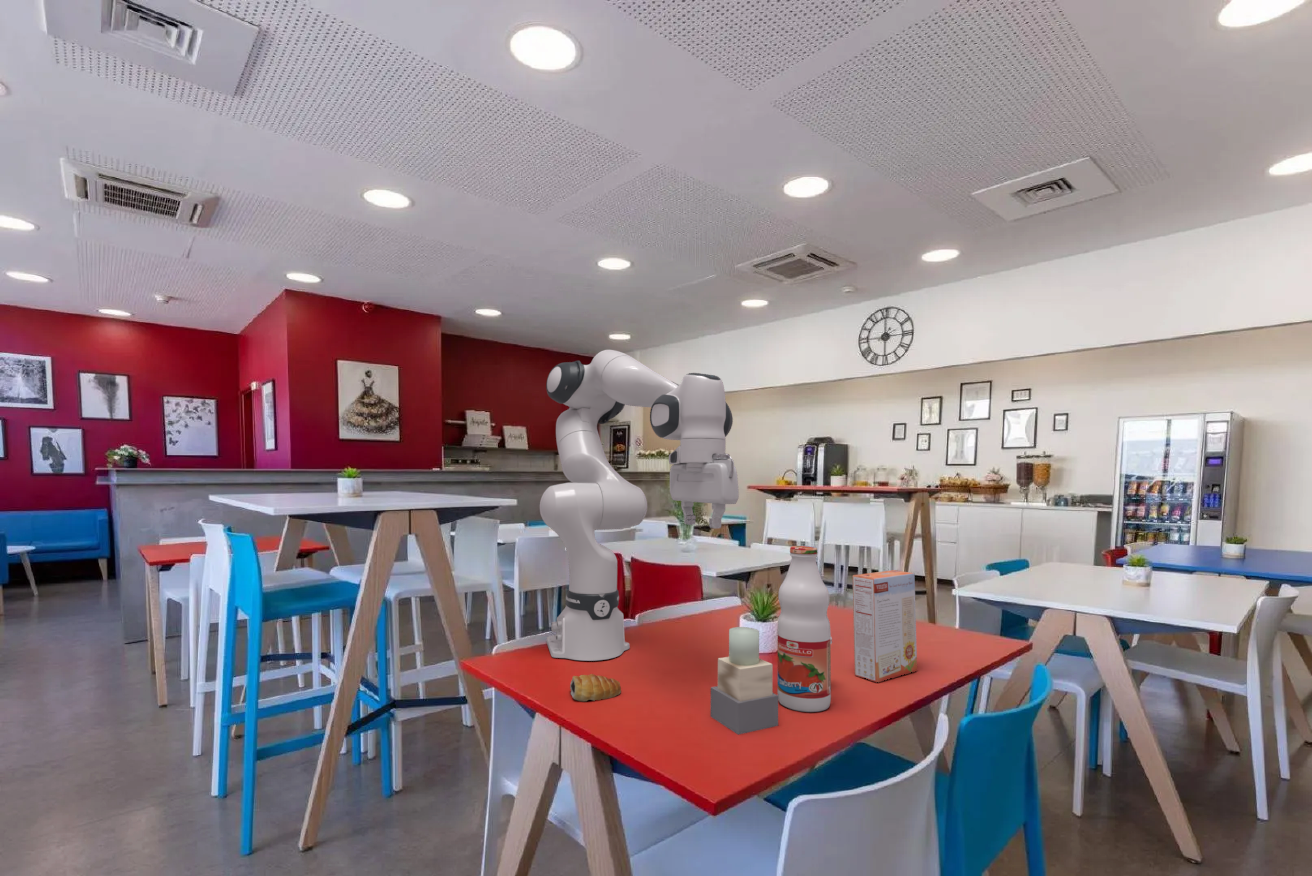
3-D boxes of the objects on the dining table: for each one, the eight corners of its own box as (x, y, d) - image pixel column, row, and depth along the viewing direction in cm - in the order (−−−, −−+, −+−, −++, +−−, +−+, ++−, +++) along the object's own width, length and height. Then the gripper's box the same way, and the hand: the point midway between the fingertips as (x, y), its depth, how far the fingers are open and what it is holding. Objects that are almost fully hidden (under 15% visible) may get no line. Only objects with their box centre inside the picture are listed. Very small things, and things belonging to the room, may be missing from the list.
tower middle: (717, 688, 101) (717, 658, 102) (748, 683, 104) (749, 653, 105) (739, 701, 96) (740, 669, 96) (772, 695, 99) (772, 664, 99)
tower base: (710, 717, 102) (710, 687, 102) (748, 709, 105) (748, 680, 106) (738, 735, 95) (738, 703, 95) (778, 726, 98) (778, 695, 99)
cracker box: (893, 665, 132) (892, 569, 133) (918, 672, 127) (916, 572, 128) (851, 675, 124) (851, 573, 126) (876, 684, 119) (875, 577, 121)
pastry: (615, 687, 116) (616, 667, 116) (625, 700, 109) (625, 678, 110) (567, 692, 113) (568, 671, 113) (574, 705, 106) (574, 683, 107)
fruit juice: (840, 703, 108) (839, 547, 110) (813, 718, 102) (812, 551, 104) (795, 690, 115) (795, 543, 117) (767, 702, 108) (767, 546, 110)
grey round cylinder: (723, 658, 102) (723, 628, 102) (748, 655, 104) (748, 626, 104) (739, 667, 97) (739, 635, 98) (764, 663, 99) (765, 632, 100)
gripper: (747, 453, 109) (746, 530, 108) (690, 456, 127) (690, 522, 126) (717, 452, 106) (717, 531, 105) (664, 455, 124) (663, 522, 123)
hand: (702, 526), depth 116 cm, fingers open, 8 cm apart
